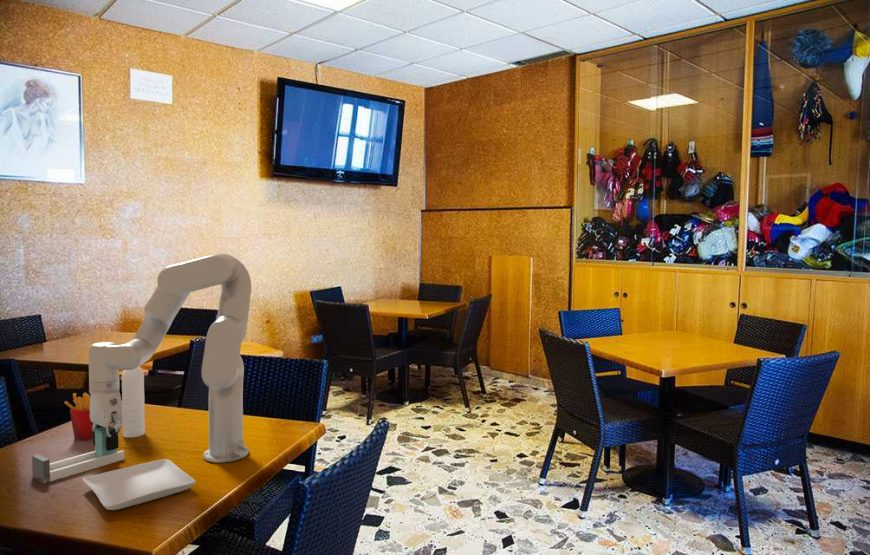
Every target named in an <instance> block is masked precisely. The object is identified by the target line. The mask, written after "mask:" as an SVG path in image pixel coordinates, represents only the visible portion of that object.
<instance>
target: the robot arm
mask: <svg viewBox="0 0 870 555" xmlns="http://www.w3.org/2000/svg"><path fill="white" fill-rule="evenodd" d="M156 282H157V286H156V288H155V290H154V291H153V292H152V294H151V296H150V297H149V299H148V300H147V302H146V303H145V305H144V308H143V309H144V310H143V311H144V317H143V320H142V323H141V325H140V327H139V328H138V329H137V331H136V333H135V334H134V336H133V338H132V339H131V340H129V341H128V342H126V343H124V344H117V343H116V342H113V341H100V342H95V343H92V344H91V345H89V347H88V389H89V390H88V391H89V392H88V393H89V394H90V395H89V396H90V420H91V421H92V422H91V424H92V426H93V427H92V431H94V432H93V439H92V442H93V446H95V429H97V428H101V427H105V428H106V432H107V436H108V437H106V450H107V451H110V450H114V449H119V446H120V445H119V435H120V431H121V428H122V427H123V414H122V412H123V410H122V405H123V404H122V395H121V393H120V370H122V371H124V370H132V369H135V368H137V367H141V366H142V365H143V364H144V363H146V362H149V360H150V359H151V358H152V357H153V355H154V354H155V352H156V351H157V350H158V348H159V347H160V345H161V343H162V341H163V340H164V338H165V337H166V335H167V333H168V331H169V329H170V327H171V325H172V323H173V321H174V320H175V318H176V316H177V315H178V313H179V311H180V310H181V308H182V306H183V304H185V302H186V301H187V298H188V297H189V296H190V294H191V293H193V292H196V291H200V290H204V289H207V288H212V287H216V286H220V285H221V286H220V287H221V293H220V297H219V301H218V310H217V315H216V320H215V321H213V322H212V324H211V325H210V326H209V328H208V331H207V333H206V337H205V345H204V350H203V351H204V352H203V356H202V357H203V358H202V363H201V378H202V381H203V383H204V384H205V385H206V387H208V449H206V450H205V451H203V459H204V460H205V461H207V462H210V463H231V462H235V461H238V460H241V459H244V458H245V457H246V456H247V455H248V454H249V451H250V449H249V448H248V447H247V446H245V440H244V422H243V421H244V420H243V419H244V407H243V406H244V404H243V402H244V400H243V399H244V398H243V395H244V393H243V392H244V377H245V376H244V373H245V365H244V361H243V358H242V356H241V348H242V343H243V342H244V340H245V339H246V337H247V336H246V335H247V333H248V332H247V330H248V321H249V314H250V304H251V294H252V280H251V276H250V274H249V271H248V269H247V267H246V266H245V265H244V264H243V263H242V262H241V261H240V260H238V259H237V258H236V257H234V256H232V255H230V254H227V253H216V254H210V255H207V256H204V257H199V258H196V259H191V260H188V261H185V262H181V263H175V264H171V265H167V266H166V267H164V268H163V269H161V270H160V271H159V273H158V275H157V279H156ZM112 427H114V428H113V429H112V430H111V432H110V428H112Z"/></svg>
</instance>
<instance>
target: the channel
mask: <svg viewBox="0 0 870 555" xmlns="http://www.w3.org/2000/svg"><path fill="white" fill-rule="evenodd" d="M124 460H125V450H123V449H122V450H120V451H119V450H118V451H117V452H115V453H112V454H108V455H105V456H101V457H95V450H94V451H90V452H86V453H83V454H82V453H81V454H79V455H75V456H72V457H68V458H65V459H61V460H57V461H54V462H50V459H49V458H47V457H46V456H43V455H41V454H40V453H37V454H36V453H35V454H33V455H31V461H32V462H31V465H32V467H31V468H32V470H31V471H32V478H33V477H34V478H33V479H35V480H36V479H37V481H38V482H39V483H42V485H44V484H47V482H48V483H50V482H54V481H58V480H60V478H61V479H64V478H68V477H70V475H71V476H74V475H77V474H80V473H83V472H87V471H89V470H90V471H91V470H93V469H97V468H100V467H103V466H107V465H109V464H110V465H111V464H113V463H117V462H120V461H124ZM57 479H58V480H57Z"/></svg>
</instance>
